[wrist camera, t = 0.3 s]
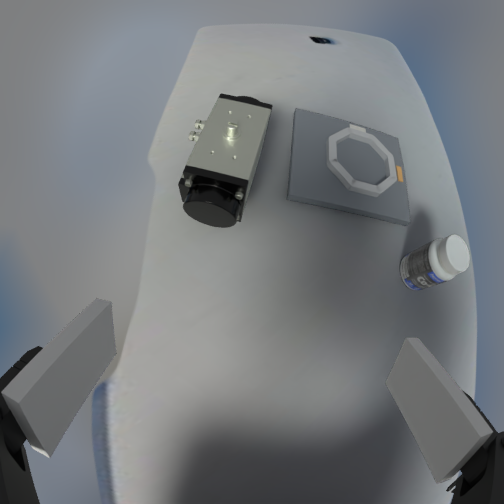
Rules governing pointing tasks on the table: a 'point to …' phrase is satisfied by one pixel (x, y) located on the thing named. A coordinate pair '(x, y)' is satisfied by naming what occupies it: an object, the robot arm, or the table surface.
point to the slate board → (347, 168)
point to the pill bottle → (435, 262)
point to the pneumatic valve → (224, 160)
